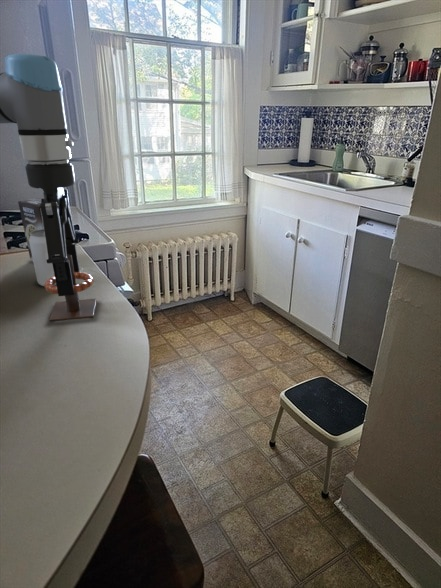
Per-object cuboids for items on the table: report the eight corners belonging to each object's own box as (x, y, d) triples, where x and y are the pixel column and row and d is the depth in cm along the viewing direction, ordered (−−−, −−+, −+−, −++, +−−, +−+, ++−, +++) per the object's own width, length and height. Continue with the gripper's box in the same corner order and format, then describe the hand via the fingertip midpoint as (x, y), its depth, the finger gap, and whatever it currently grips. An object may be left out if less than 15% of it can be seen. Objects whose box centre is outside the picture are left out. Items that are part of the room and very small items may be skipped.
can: (31, 284, 91) (20, 234, 86) (51, 275, 96) (42, 227, 91) (53, 288, 89) (43, 237, 84) (72, 278, 94) (64, 230, 89)
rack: (56, 306, 81) (46, 250, 76) (96, 302, 82) (88, 248, 77) (49, 324, 74) (37, 264, 69) (93, 320, 75) (85, 261, 70)
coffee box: (29, 261, 105) (16, 201, 99) (50, 255, 110) (39, 197, 103) (49, 268, 101) (37, 205, 94) (70, 261, 105) (60, 201, 99)
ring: (49, 279, 79) (48, 272, 78) (95, 275, 80) (94, 269, 80) (41, 297, 71) (39, 290, 70) (91, 293, 72) (90, 286, 72)
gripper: (62, 169, 57) (85, 307, 67) (78, 155, 76) (94, 264, 86) (7, 170, 56) (38, 311, 65) (38, 156, 75) (58, 267, 84)
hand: (70, 284), depth 75 cm, fingers closed on ring, 9 cm apart
